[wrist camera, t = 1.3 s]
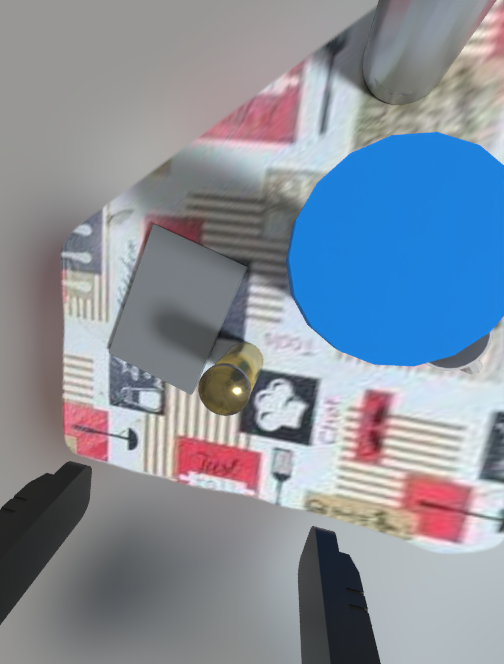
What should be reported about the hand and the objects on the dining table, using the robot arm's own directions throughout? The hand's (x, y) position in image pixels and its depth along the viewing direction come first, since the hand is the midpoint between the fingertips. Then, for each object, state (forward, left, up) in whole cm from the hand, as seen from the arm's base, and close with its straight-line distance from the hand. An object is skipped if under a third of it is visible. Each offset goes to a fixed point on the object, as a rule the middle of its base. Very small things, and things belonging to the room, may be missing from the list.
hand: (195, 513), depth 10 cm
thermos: (-12, +4, -31) cm, 34 cm away
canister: (+4, -2, -31) cm, 31 cm away
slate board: (+2, -14, -31) cm, 34 cm away
